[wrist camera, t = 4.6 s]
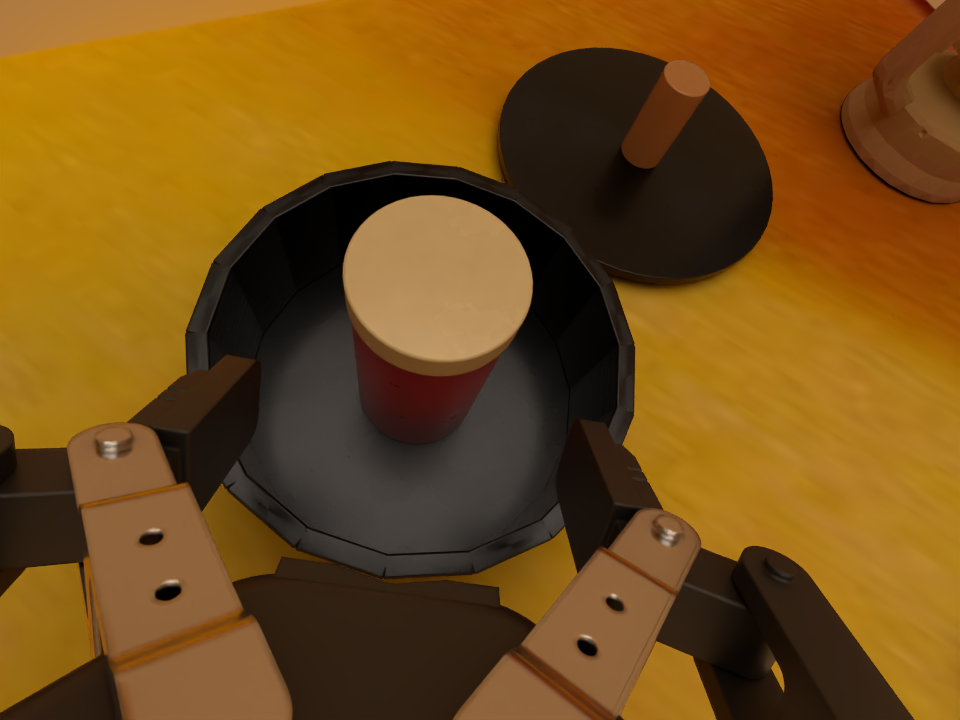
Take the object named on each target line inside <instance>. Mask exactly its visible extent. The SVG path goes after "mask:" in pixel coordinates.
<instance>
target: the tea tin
mask: <svg viewBox="0 0 960 720" xmlns="http://www.w3.org/2000/svg"><path fill="white" fill-rule="evenodd" d="M343 284H344V293H345V301H346V307H347V311H348V314H349V317H350V320H351V323H352V332H353V341H354V350H355V359H356V368H357V377H358V387H359V395H360V401H361V405H362V408H363V410H364V412H365V414H366V416H367V418H368V419H369V421H370V422H371V423H372V424H373V425H374V426H375V427H376V428H377V429H378V430H379V431H380V432H382V433H383V434H384V435H386V436H388V437H390V438H392V439H394V440H397V441H400V442H404V443H410V444H424V443H430V442H433V441H437V440H439V439H441V438H444V437H445V436H447V435H449V434H450V433H452V432H453V431H454V430H455V429H456V428H457V427H458V426H459V425H460V424H461V423H462V421H463V420H464V419H465V417H466V415H467V414H468V412H469V410H470V408H471V406H472V405H473V403H474V401H475V399H476V397H477V396H478V394H479V392H480V390H481V389H482V387H483V385H484V383H485V381H486V380H487V378H488V376H489V374H490V373H491V371H492V369H493V367H494V365H495V364H496V362H497V360H498V358H499V357H500V355H501V353H502V352H503V351H504V350H505V349H506V348H507V347H508V346H509V344H510V343H511V341H512V340H513V339H514V337H515V335H516V334H517V332H518V330H519V328H520V327H521V325H522V323H523V321H524V319H525V317H526V315H527V313H528V310H529V307H530V304H531V300H532V294H533V279H532V271H531V267H530V263H529V260H528V257H527V255H526V253H525V250H524V248H523V247H522V245H521V243H520V241H519V240H518V239H517V237H516V236H515V235H514V233H513V232H512V231H511V230H510V229H509V228H508V227H507V226H506V225H505V224H504V223H503V222H502V221H501V220H500V219H498V218H497V217H496V216H494V215H493V214H491V213H490V212H488V211H487V210H485V209H483V208H481V207H479V206H477V205H475V204H472V203H470V202H467V201H464V200H461V199H457V198H453V197H447V196H437V195H425V196H415V197H409V198H405V199H402V200H398V201H396V202H393V203H391V204H388V205H386V206H385V207H383V208H381V209H379V210H378V211H376V212H375V213H374V214H372V215H371V216H370V217H369V218H368V219H367V220H366V221H365V222H364V223H363V224H362V225H361V226H360V227H359V228H358V230H357V231H356V232H355V234H354V235H353V237H352V239H351V241H350V243H349V245H348V247H347V250H346V253H345V257H344V262H343Z"/></svg>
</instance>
